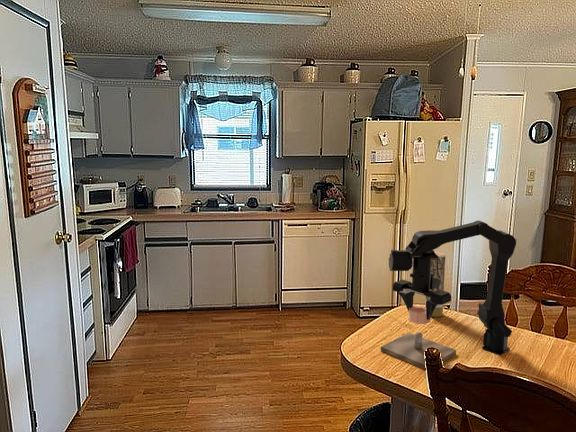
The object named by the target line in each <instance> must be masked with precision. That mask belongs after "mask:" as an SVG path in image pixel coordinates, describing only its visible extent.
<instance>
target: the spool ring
mask: <svg viewBox="0 0 576 432" xmlns="http://www.w3.org/2000/svg"><path fill="white" fill-rule="evenodd" d="M408 319H409V322H411V323H414V324H417V325H427V324H429V323H430V322H431V318H430V319H429V320H427V316H426V308H425V306H422V305H421V306H419V305H415V306H414V305H413V307H411V308H409V311H408Z"/></svg>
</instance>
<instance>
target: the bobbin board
mask: <svg viewBox="0 0 576 432" xmlns="http://www.w3.org/2000/svg"><path fill="white" fill-rule="evenodd" d="M429 347H434V348H437V349H438V350H439V351H440V353H441V358H442V361H443V363H444V362H447V361H448V360H449V359H451V358H452V357H454V356H456V355H457V349H454V348H452V347H449V346H447V345H443V344H440V343H438V342H435V341H433V340H430V339H427V338H424V337H423V333H422V332H420V331H418V332H415V333H414V334H413V333H411V332H407V333H406V334H403V335H400V336H398V337H397V338H395V339H393V340H391V341H389V342H387V343H385V344H383V345H381V346H380V352H382V353H385V354H387V355H389V356H392V357H395V358H397V359H400V360H401V361H404V362H406V363H409V364H411V365H413V366H416V367H419V368H420V369H423V370H426V368H425V359H424V352H425V350H426V349H427V348H429ZM426 371H427V370H426Z"/></svg>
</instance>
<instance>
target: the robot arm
mask: <svg viewBox="0 0 576 432" xmlns="http://www.w3.org/2000/svg"><path fill="white" fill-rule="evenodd" d="M476 236H482V237H483V238H485V239H487V240H488V249H489V253H490V256H491V262H490V269H489V276H488V277H489V278H488V283H487V290H486V291H487V292H486V299H485V300H484V301H483V303H480V302H479V303H478V310H477V313H476V315H477V316H478V318H479V319H478V320H479V321H480V322H481V323H482V324H483V326H484V328H486V329H485V330H484V333H483V336H482V337H483V338H482V347H481V349H483V350H486V351H488V352H490V353H494V354H497V355H499V356H503V354H505V353H506V352H508V351H510V347H508V344H509V343H508V341H509V338H510V337H511V335H512V332H513V330H512V329H510V327H509V326H507V324H506V321H505V320H506V319H505V317H506V316H505V312H504V307H503V298H504V291H505V290H504V289H505V284H506V278H507V277H506V275H507V269H508V262H509V261H510V258H512V256H513V255H514V252H515V250H516V249H515V248H516V247H517V239H516V238H515V237H514V235H512V234H510V233H507V232H505V231H503V230H497V229H495V228H493V227H492V226H490V225H489V224H488V223H486V222H485V221H482V220H475V221H472V222H469V223H465V224H460V225H457V226H456V225H455V226H452V227H449V228H445V229H440V230H439V229H438V230H429V229H428V230H418V231H416V232H414V234H413V235H412V239H411V241H410V242H409V243H408V245H407V246H406V247H405V249H403V250H401V249H400V250H398V249H391V250H390V254H389V258H388V268H389V271H390V272H409V271H410V270H412V271H411V273H410V274H409V277H410V278H411V279H412V280H411V281H409V280H405V279H401V280H397V281H394V282H393V283H392V286H391V287H392V291H394V292H396V293H398V294H397V295H400V297H401V299H402V301H403V303H404V305H405V306H406V309H407V311H408V312H409V308H411V307H413V306H414V296H415V294H418V295H422V296H424V297H426V296H428V297H430V300H429V301H426V316H427V320H429V319H430V320H431V318H432V317H431V316H432V314H433V312H434V309H435V307H436V306H437V304H439V305H443V306H444V305H445V304H447V303H450V302H452V295H451V293H450V292H449V291H446V290H444V291H442V290H438V291H435V292H432V291H430V289H432V290H433V289H434V287H435V288H437V289H439V286H440V282H441V280H439V279H436V278H433V274H432V273H431V260H432V258H438V257H439V256H438V255H436V254H435V252H436V251H434V250H436V249H439V248H440V247H441V246H443V245H445V244H448V243H451V242H456V241H460V240H464V239H469V238H473V237H476Z"/></svg>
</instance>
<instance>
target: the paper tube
mask: <svg viewBox="0 0 576 432" xmlns="http://www.w3.org/2000/svg"><path fill="white" fill-rule="evenodd" d="M434 252H435V254H436V255H438V256H439V257H438V258H432V260H431V273H432V274H433V278H436V279H439V280H441V282H440V286H439V289H437V288H435V287H434V289H433V290H432V289H430V291H432V292H435V291H438V290H442V291H445V277H446V273H445V272H446V253H444V252H442V251H434ZM429 300H430V297H428V296H425V300H424V301H425V303H424V305H425V306H424V307H425V308H426V301H429ZM443 313H444V304H443V305H439V304H437V306H436V307H435V309H434V312H433V314H432V316H431V318H439V317H442V316H443V315H444V314H443Z"/></svg>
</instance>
